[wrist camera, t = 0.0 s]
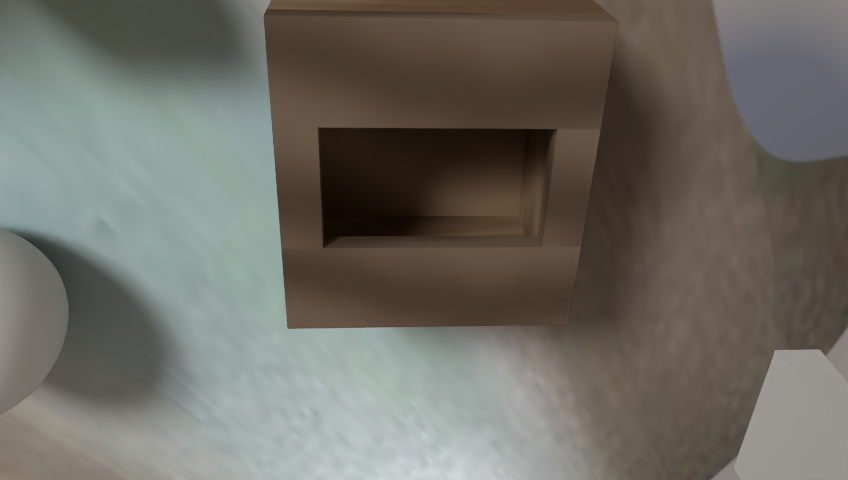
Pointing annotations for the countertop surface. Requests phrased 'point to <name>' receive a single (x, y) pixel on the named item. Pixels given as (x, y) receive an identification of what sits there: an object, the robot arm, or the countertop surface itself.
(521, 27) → the brown wooden slotted box
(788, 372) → the robot arm
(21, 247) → the ornament
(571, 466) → the countertop surface
